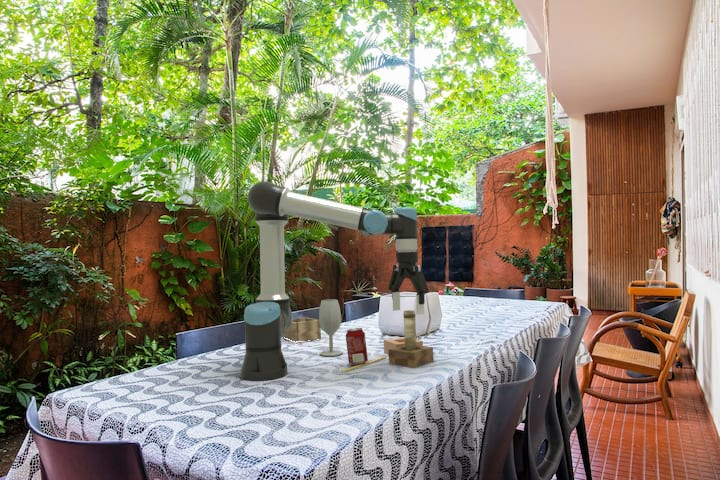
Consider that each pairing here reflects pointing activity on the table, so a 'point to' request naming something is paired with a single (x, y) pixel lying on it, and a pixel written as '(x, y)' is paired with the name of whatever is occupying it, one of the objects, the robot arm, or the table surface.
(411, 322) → the beige banded cylinder
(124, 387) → the table surface
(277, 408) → the table surface
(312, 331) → the fruit crate
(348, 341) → the soda can
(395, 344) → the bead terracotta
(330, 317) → the wineglass
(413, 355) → the brown holed block
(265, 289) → the robot arm
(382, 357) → the thin yellow stick
